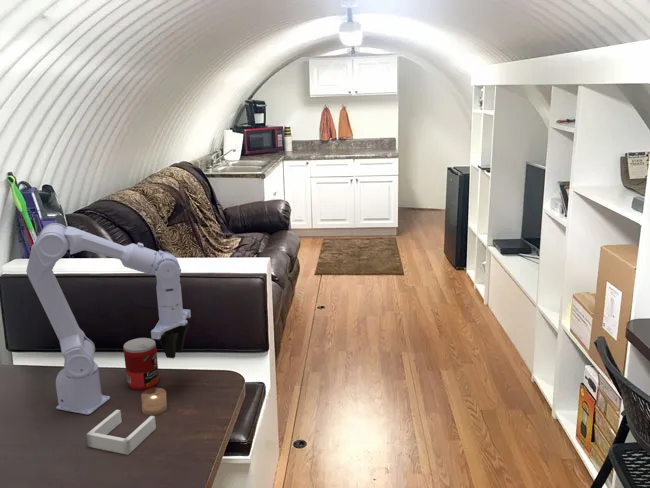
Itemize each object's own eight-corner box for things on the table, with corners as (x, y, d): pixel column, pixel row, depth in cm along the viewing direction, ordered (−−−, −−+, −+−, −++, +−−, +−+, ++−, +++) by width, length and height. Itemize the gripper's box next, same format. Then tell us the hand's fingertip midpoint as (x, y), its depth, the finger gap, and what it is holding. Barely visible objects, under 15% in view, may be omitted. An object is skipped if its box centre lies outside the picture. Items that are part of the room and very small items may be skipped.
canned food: (150, 391, 142) (146, 351, 139) (121, 389, 144) (116, 349, 141) (164, 377, 149) (161, 338, 147) (137, 374, 151) (132, 336, 148)
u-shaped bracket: (87, 446, 120) (86, 434, 119) (118, 421, 129) (116, 409, 129) (128, 454, 117) (126, 442, 117) (155, 428, 126) (154, 416, 126)
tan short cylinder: (137, 413, 132) (136, 397, 131) (150, 401, 138) (149, 386, 137) (159, 417, 131) (158, 401, 130) (171, 404, 136) (170, 389, 135)
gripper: (167, 315, 130) (172, 369, 133) (199, 294, 143) (203, 344, 147) (141, 312, 132) (146, 365, 135) (175, 292, 145) (179, 341, 149)
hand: (174, 354), depth 141 cm, fingers open, 3 cm apart
